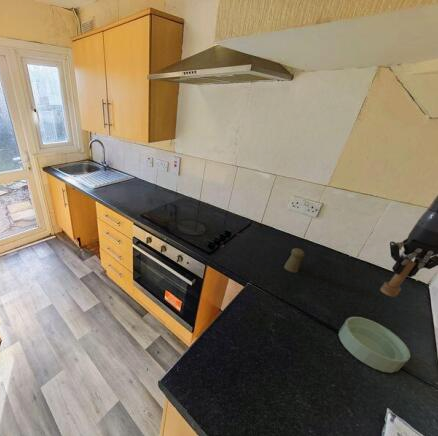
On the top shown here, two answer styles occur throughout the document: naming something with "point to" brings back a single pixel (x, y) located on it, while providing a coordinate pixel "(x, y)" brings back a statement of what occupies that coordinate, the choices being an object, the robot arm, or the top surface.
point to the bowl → (374, 344)
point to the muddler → (397, 280)
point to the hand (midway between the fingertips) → (401, 273)
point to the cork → (294, 260)
